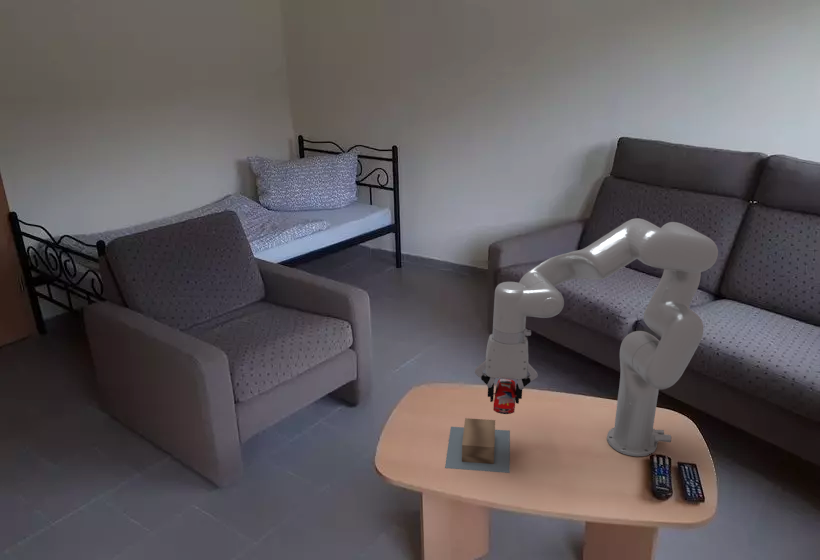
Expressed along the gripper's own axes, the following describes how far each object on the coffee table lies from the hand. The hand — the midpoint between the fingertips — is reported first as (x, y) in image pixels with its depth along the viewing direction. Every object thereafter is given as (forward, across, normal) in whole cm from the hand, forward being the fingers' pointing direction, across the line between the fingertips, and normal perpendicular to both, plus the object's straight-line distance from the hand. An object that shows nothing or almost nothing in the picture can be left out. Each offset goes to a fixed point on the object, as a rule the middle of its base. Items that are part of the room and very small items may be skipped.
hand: (504, 399), depth 165 cm
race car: (+1, 0, 0) cm, 1 cm away
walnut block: (+17, +6, -3) cm, 18 cm away
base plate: (+18, +6, -3) cm, 19 cm away
